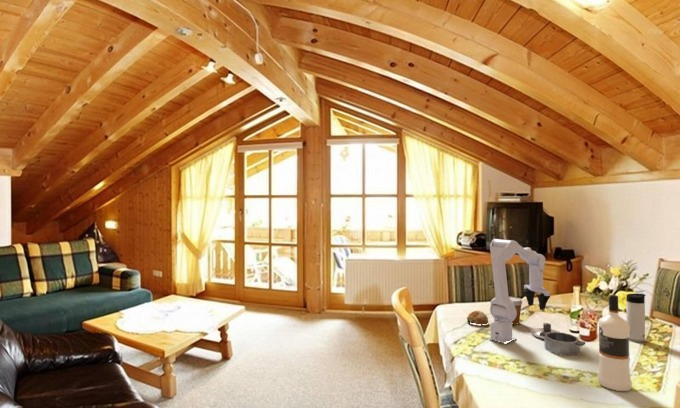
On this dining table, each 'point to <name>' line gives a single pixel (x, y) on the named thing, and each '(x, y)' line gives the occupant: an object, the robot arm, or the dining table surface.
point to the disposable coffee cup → (517, 308)
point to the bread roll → (477, 318)
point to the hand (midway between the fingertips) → (536, 307)
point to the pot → (562, 343)
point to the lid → (543, 330)
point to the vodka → (614, 350)
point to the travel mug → (636, 317)
